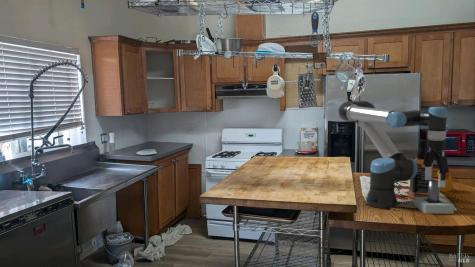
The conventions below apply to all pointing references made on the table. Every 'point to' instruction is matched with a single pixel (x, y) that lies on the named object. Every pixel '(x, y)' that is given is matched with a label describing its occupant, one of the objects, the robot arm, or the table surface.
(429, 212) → the block
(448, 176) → the bracket
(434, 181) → the dark gray tapered cylinder
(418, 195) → the whiskey bottle
